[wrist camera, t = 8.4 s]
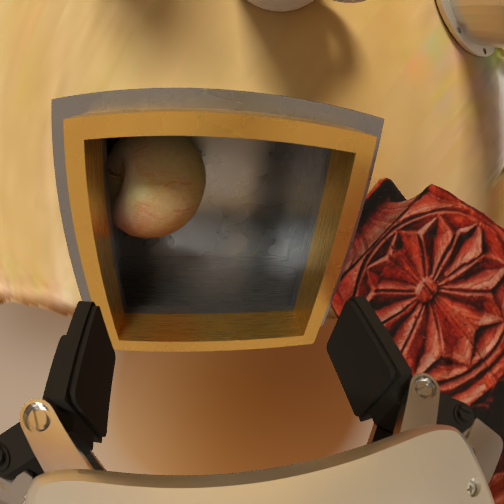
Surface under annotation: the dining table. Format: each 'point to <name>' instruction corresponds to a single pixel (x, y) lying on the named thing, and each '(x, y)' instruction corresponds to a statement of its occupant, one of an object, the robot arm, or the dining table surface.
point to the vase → (436, 294)
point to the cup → (288, 4)
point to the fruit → (154, 184)
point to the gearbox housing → (217, 216)
